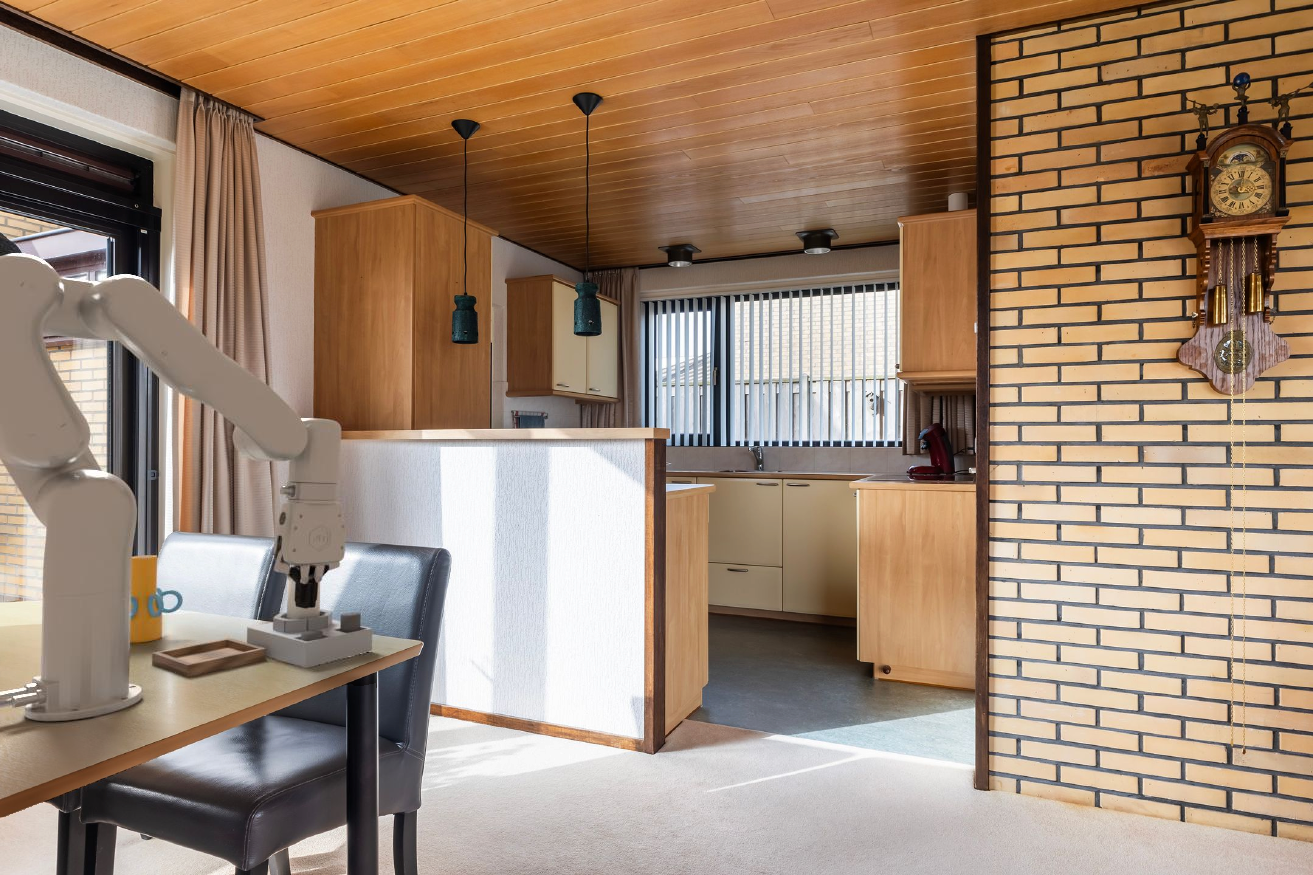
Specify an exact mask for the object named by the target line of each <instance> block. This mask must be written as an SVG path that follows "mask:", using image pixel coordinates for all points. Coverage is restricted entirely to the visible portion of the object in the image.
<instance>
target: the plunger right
mask: <svg viewBox="0 0 1313 875" xmlns="http://www.w3.org/2000/svg"><path fill="white" fill-rule="evenodd" d="M361 616H362V615H361V613H360V612H345V613H341V614H340V620H339V621H340V632H344V633H350V632H354V631H359V630H360V628H361V626H362V625H361V622H362V620H361Z"/></svg>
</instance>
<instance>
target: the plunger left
mask: <svg viewBox="0 0 1313 875" xmlns="http://www.w3.org/2000/svg"><path fill="white" fill-rule="evenodd" d="M322 638H323V632H322V631H306V632H303V633H301V640H303V641H307V642H308V641H313V640H317V639H322Z"/></svg>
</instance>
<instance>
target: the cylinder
mask: <svg viewBox="0 0 1313 875" xmlns="http://www.w3.org/2000/svg"><path fill="white" fill-rule="evenodd" d="M157 578H158V555H156V554H155V555H152V554H151V555H149V554H148V555H146V554H145V555H135V556H132V564H131V613H130V644H138V643H139V644H140V643H147V642H153V641H157V640H159V639H161V638H162V637H163V613H165V614H172V613H175V612H176V611H178V610H179V609H180V608H181V607H182V606H183V603H184V602H183V601H184V599H183V595H182V594H181V593H180V592H179V591H177V590H175V589H167V590H166V589H165V590H164V591H163V590H162V589H161V588H160V587H157V583H158V581H157V580H158V579H157ZM167 595H173V596H175V597H176V599H177V603H176V605H174V606H173V607H171V608H165V603H164V602H165V601H164V597H165V596H167Z"/></svg>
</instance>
